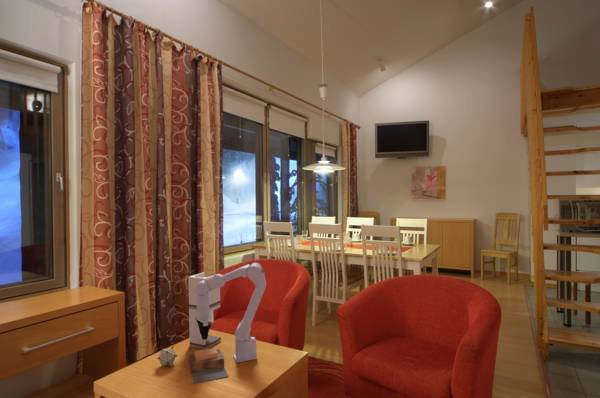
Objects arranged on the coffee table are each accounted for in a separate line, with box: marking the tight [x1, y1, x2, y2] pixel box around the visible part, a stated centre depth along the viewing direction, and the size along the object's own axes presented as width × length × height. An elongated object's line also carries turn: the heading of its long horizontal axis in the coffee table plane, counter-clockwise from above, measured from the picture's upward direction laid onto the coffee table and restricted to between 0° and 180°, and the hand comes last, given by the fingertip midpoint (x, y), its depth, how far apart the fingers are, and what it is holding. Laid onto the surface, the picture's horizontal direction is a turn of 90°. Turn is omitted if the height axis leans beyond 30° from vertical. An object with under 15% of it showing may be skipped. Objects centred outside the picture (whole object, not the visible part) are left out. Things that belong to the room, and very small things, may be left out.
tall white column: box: [187, 271, 222, 350], centre depth 188 cm, size 11×11×35 cm
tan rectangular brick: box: [194, 347, 217, 361], centre depth 164 cm, size 9×6×2 cm, turn 112°
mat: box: [190, 366, 229, 385], centre depth 155 cm, size 14×9×1 cm, turn 112°
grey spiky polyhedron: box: [156, 346, 178, 369], centre depth 164 cm, size 9×8×10 cm
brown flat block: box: [188, 348, 225, 374], centre depth 164 cm, size 14×11×4 cm
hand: (203, 336), depth 170 cm, fingers open, 6 cm apart
